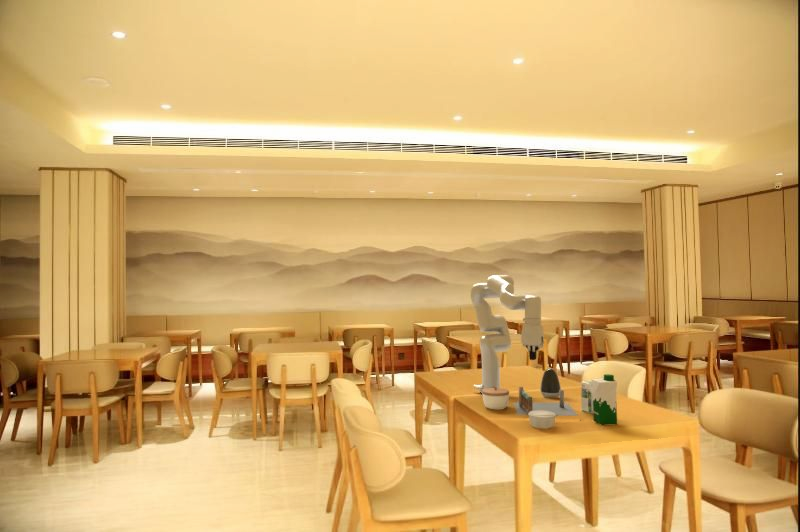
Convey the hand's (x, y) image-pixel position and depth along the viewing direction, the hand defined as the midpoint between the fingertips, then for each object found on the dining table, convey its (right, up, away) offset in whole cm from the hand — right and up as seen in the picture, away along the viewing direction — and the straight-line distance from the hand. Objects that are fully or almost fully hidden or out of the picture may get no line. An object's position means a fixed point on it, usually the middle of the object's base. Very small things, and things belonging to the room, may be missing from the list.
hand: (532, 359), depth 252 cm
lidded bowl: (-18, -23, -4) cm, 30 cm away
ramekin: (-4, -22, -32) cm, 39 cm away
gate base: (+3, -23, -8) cm, 24 cm away
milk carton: (+23, -22, -29) cm, 43 cm away
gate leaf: (-6, -21, -13) cm, 25 cm away
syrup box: (+22, -22, -15) cm, 35 cm away
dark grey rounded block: (+14, -23, +19) cm, 33 cm away
